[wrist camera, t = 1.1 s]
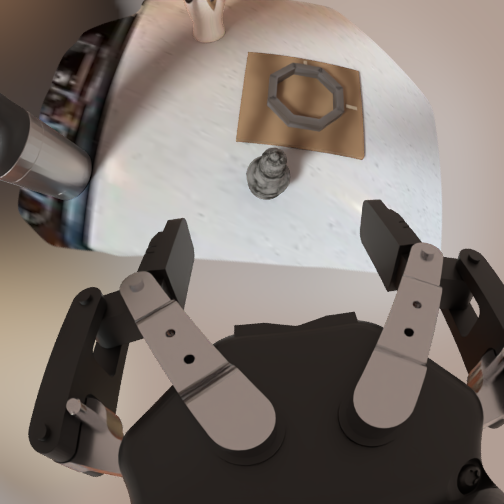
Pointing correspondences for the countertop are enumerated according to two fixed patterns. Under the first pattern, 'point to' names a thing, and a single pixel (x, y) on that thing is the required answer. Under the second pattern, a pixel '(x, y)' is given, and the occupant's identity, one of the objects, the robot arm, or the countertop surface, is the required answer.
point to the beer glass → (206, 19)
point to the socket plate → (301, 105)
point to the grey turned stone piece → (268, 174)
